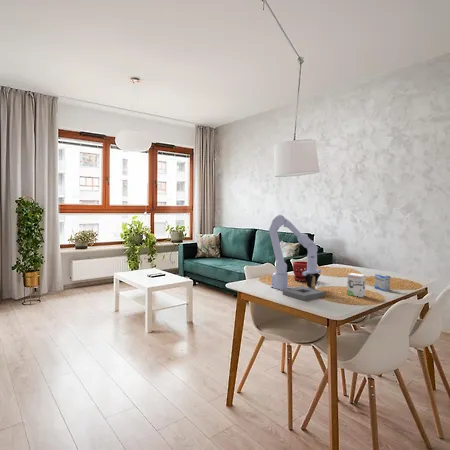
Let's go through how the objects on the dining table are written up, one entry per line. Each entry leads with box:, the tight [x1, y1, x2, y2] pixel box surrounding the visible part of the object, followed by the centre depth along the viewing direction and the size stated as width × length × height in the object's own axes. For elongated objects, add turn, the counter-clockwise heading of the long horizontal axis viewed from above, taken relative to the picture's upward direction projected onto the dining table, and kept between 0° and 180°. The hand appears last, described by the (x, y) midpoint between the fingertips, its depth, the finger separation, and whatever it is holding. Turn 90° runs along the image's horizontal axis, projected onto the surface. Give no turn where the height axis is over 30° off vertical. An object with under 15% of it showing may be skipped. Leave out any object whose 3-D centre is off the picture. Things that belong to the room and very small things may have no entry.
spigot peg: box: [308, 276, 316, 289], centre depth 205 cm, size 4×4×8 cm
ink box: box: [346, 272, 366, 298], centre depth 192 cm, size 9×5×12 cm, turn 48°
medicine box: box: [374, 273, 391, 292], centre depth 206 cm, size 8×4×9 cm, turn 21°
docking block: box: [282, 285, 325, 302], centre depth 192 cm, size 16×16×2 cm
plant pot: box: [292, 261, 311, 282], centre depth 231 cm, size 13×13×12 cm
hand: (311, 286), depth 205 cm, fingers closed on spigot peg, 4 cm apart
